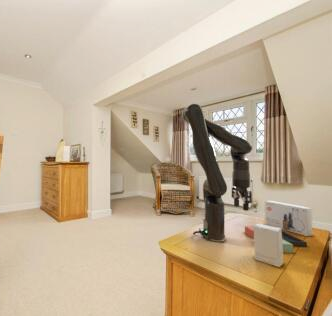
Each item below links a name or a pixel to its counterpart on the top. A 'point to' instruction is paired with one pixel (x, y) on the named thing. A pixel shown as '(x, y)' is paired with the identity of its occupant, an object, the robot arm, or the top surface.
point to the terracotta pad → (249, 231)
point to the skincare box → (289, 217)
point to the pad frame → (293, 240)
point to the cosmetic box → (268, 244)
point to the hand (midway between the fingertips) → (241, 208)
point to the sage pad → (287, 247)
